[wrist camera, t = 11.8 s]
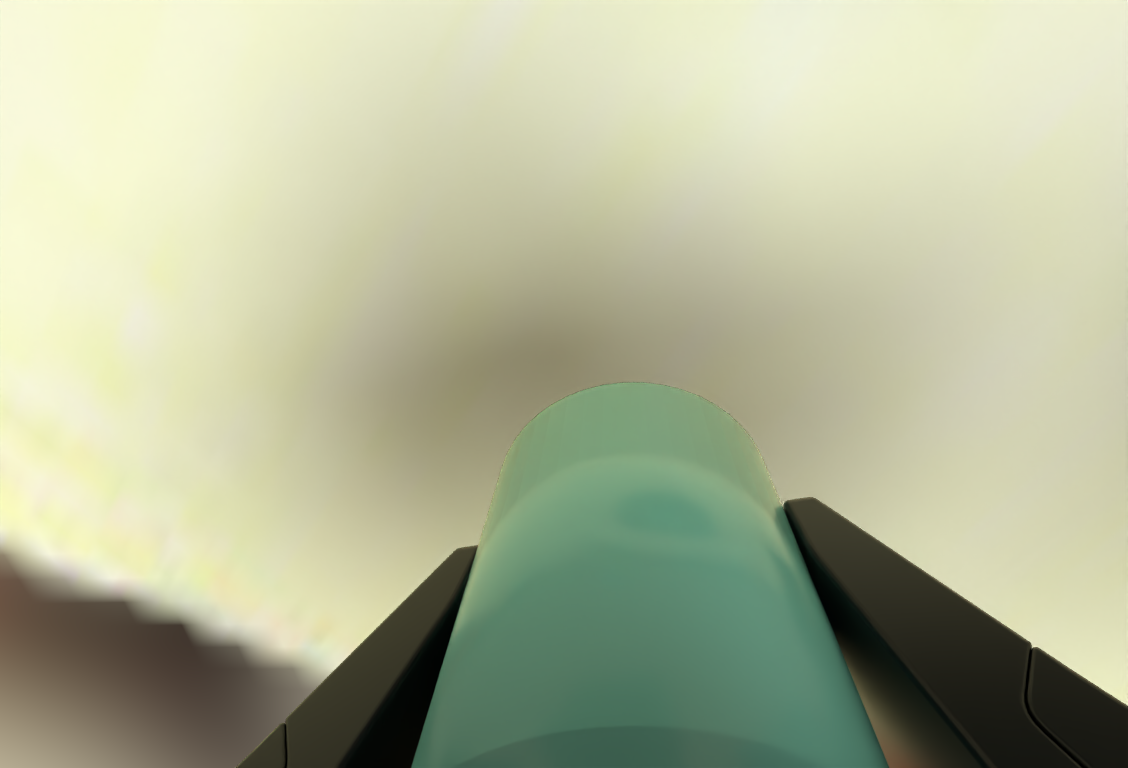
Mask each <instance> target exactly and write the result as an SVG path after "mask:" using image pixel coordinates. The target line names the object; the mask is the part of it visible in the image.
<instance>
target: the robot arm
mask: <svg viewBox="0 0 1128 768" xmlns="http://www.w3.org/2000/svg"><path fill="white" fill-rule="evenodd" d="M783 510H784V512H785V514H786V517H787V519H788V522H789V524H790V527H791V529H792V532H793V534H794V536H795V539H796V541H797V544H798V546H799V549H800V551H801V553H802V556H803V558H804V561H805V563H806V566H807V568H808V571H809V573H810V575H811V578H812V580H813V583H814V585H815V588H816V590H817V592H818V595H819V597H820V600H821V602H822V605H823V607H824V609H825V612H826V614H827V617H828V619H829V622H830V624H831V627H832V629H833V631H834V634H835V636H836V639H837V641H838V644H839V646H840V648H841V651H842V653H843V656H844V658H845V661H846V663H847V666H848V668H849V670H850V673H851V675H852V678H853V680H854V683H855V685H856V687H857V690H858V692H859V695H860V697H861V700H862V702H863V705H864V707H865V709H866V712H867V714H868V717H869V719H870V722H871V724H872V726H873V729H874V731H875V734H876V736H877V739H878V741H879V744H880V746H881V748H882V751H883V753H884V756H885V758H886V761H887V763H888V765H889V768H1128V706H1127V705H1126V704H1124V703H1123V702H1121V701H1119V700H1118V699H1116V698H1115V697H1113V696H1112V695H1110V694H1109V693H1107V692H1105V691H1104V690H1102V689H1101V688H1099V687H1098V686H1096V685H1095V684H1093V683H1091V682H1090V681H1088V680H1087V679H1085V678H1084V677H1082V676H1081V675H1079V674H1077V673H1076V672H1074V671H1073V670H1071V669H1070V668H1068V667H1067V666H1065V665H1064V664H1062V663H1061V662H1059V661H1058V660H1056V659H1055V658H1053V657H1052V656H1050V655H1049V654H1047V653H1046V652H1044V651H1043V650H1041V649H1040V648H1038V647H1034V648H1032V645H1031V643H1030V642H1029V641H1027V640H1026V639H1024V638H1023V637H1022V636H1020V635H1019V634H1017V633H1016V632H1014V631H1013V630H1011V629H1010V628H1008V627H1007V626H1005V625H1004V624H1002V623H1001V622H999V621H998V620H996V619H995V618H993V617H992V616H990V615H989V614H987V613H986V612H984V611H983V610H981V609H980V608H978V607H977V606H975V605H974V604H972V603H971V602H969V601H968V600H966V599H965V598H963V597H962V596H960V595H959V594H957V593H956V592H954V591H953V590H952V589H950V588H949V587H947V586H946V585H944V584H943V583H941V582H940V581H938V580H937V579H935V578H934V577H932V576H931V575H929V574H928V573H926V572H925V571H923V570H922V569H920V568H919V567H917V566H916V565H914V564H913V563H911V562H910V561H908V560H907V559H905V558H904V557H902V556H901V555H899V554H898V553H896V552H895V551H893V550H892V549H890V548H889V547H887V546H886V545H884V544H883V543H882V542H880V541H879V540H877V539H876V538H874V537H873V536H871V535H870V534H868V533H867V532H865V531H864V530H862V529H861V528H859V527H858V526H856V525H855V524H853V523H852V522H850V521H849V520H847V519H846V518H844V517H843V516H841V515H840V514H838V513H837V512H835V511H834V510H832V509H831V508H829V507H828V506H826V505H825V504H823V503H822V502H820V501H819V500H817V499H816V498H813V497H807V498H800V499H793V500H788V501H786V502H785V503H784V506H783ZM477 548H478V545H477V546H470V547H463V548H458V549H456V550H455V551H454V552H453V553H452V554H451V555H450V556H449V557H448V558H447V559H446V560H445V561H444V562H443V563H442V564H441V565H440V566H439V567H438V568H437V569H436V570H435V571H434V572H433V573H432V574H431V575H430V576H429V577H428V578H427V579H426V580H425V581H424V582H423V583H422V584H421V585H420V586H419V587H418V588H417V589H416V590H415V591H414V592H413V593H412V594H411V595H410V596H409V597H408V598H407V599H406V600H405V601H404V602H403V603H402V604H401V605H400V606H399V607H398V608H397V609H396V610H395V611H393V612H392V613H391V614H390V615H389V616H388V617H387V618H386V619H385V620H384V621H383V622H382V623H381V624H380V625H379V626H378V627H377V628H376V629H375V630H374V631H373V632H372V633H371V634H370V635H369V636H368V637H367V638H366V639H365V640H364V641H363V642H362V643H361V644H360V645H359V646H358V647H357V648H356V649H355V650H354V651H353V652H352V653H351V654H350V655H349V656H348V657H347V658H346V659H345V660H344V661H343V662H342V663H341V664H340V665H339V666H338V667H337V668H336V669H335V670H334V671H333V672H332V673H331V674H330V675H329V676H328V677H327V678H326V679H325V680H324V681H323V682H322V683H321V684H320V685H319V686H318V687H317V688H316V689H315V690H314V691H313V692H312V693H311V694H310V695H309V696H308V697H307V698H306V699H305V700H304V701H303V702H302V703H301V704H300V705H299V706H298V707H297V708H296V709H295V710H294V711H293V712H292V713H291V714H290V715H289V716H288V717H287V718H286V721H285V723H286V724H285V723H281V724H280V725H279V726H278V727H277V728H275V729H274V730H273V731H272V732H271V733H270V734H269V735H268V737H267V738H265V739H264V740H263V741H262V742H261V743H260V744H259V745H258V746H257V747H256V748H255V749H254V750H253V751H252V752H251V753H250V754H249V755H248V756H247V757H246V758H245V759H244V760H243V761H242V762H241V763H240V764H239V765H238V766H237V767H235V768H411V767H412V763H413V760H414V757H415V753H416V750H417V747H418V743H419V740H420V737H421V733H422V730H423V727H424V723H425V720H426V717H427V714H428V710H429V707H430V704H431V700H432V697H433V694H434V690H435V687H436V684H437V680H438V677H439V674H440V670H441V667H442V664H443V661H444V657H445V654H446V651H447V647H448V644H449V641H450V637H451V634H452V631H453V627H454V624H455V621H456V617H457V614H458V611H459V608H460V604H461V601H462V598H463V594H464V591H465V588H466V584H467V581H468V578H469V574H470V571H471V568H472V564H473V561H474V558H475V555H476V551H477ZM1031 649H1032V650H1031Z"/></svg>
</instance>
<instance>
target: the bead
mask: <svg viewBox="0 0 1128 768" xmlns="http://www.w3.org/2000/svg"><path fill="white" fill-rule="evenodd" d="M411 768H889V765H888V763H887V761H886V758H885V756H884V753H883V751H882V748H881V746H880V744H879V741H878V739H877V736H876V734H875V731H874V729H873V726H872V724H871V722H870V719H869V717H868V714H867V712H866V709H865V707H864V705H863V702H862V700H861V697H860V695H859V692H858V690H857V687H856V685H855V683H854V680H853V678H852V675H851V673H850V670H849V668H848V666H847V663H846V661H845V658H844V656H843V653H842V651H841V648H840V646H839V644H838V641H837V639H836V636H835V634H834V631H833V629H832V627H831V624H830V622H829V619H828V617H827V614H826V612H825V609H824V607H823V605H822V602H821V600H820V597H819V595H818V592H817V590H816V588H815V585H814V583H813V580H812V578H811V575H810V573H809V571H808V568H807V566H806V563H805V561H804V558H803V556H802V553H801V551H800V549H799V546H798V544H797V541H796V539H795V536H794V534H793V532H792V529H791V527H790V524H789V522H788V519H787V517H786V514H785V512H784V510H783V507H782V505H781V502H780V500H779V497H778V495H777V493H776V490H775V488H774V485H773V483H772V480H771V478H770V475H769V473H768V471H767V468H766V466H765V463H764V461H763V458H762V456H761V454H760V452H759V450H758V448H757V447H756V445H755V443H754V441H753V440H752V438H751V437H750V436H749V435H748V433H747V432H746V431H745V430H744V428H743V427H742V426H741V425H740V424H739V423H738V422H737V421H736V420H735V419H733V418H732V417H731V416H730V415H729V414H728V413H726V412H725V411H723V410H722V409H721V408H719V407H718V406H716V405H715V404H713V403H711V402H709V401H707V400H706V399H704V398H702V397H700V396H698V395H695V394H692V393H690V392H687V391H684V390H682V389H678V388H674V387H670V386H666V385H661V384H652V383H644V382H622V383H614V384H606V385H601V386H597V387H593V388H589V389H585V390H582V391H580V392H577V393H574V394H572V395H569V396H567V397H565V398H563V399H561V400H559V401H557V402H556V403H554V404H552V405H550V406H549V407H548V408H546V409H545V410H543V411H542V412H541V413H539V414H538V415H537V416H536V417H535V418H534V419H532V420H531V421H530V422H529V423H528V424H527V425H526V426H525V427H524V429H523V430H522V431H521V432H520V434H519V435H518V436H517V437H516V439H515V440H514V442H513V444H512V446H511V447H510V449H509V451H508V453H507V455H506V458H505V460H504V463H503V465H502V468H501V472H500V475H499V478H498V482H497V485H496V488H495V492H494V495H493V498H492V502H491V505H490V508H489V511H488V515H487V518H486V521H485V525H484V528H483V531H482V535H481V538H480V541H479V545H478V548H477V551H476V555H475V558H474V561H473V564H472V568H471V571H470V574H469V578H468V581H467V584H466V588H465V591H464V594H463V598H462V601H461V604H460V608H459V611H458V614H457V617H456V621H455V624H454V627H453V631H452V634H451V637H450V641H449V644H448V647H447V651H446V654H445V657H444V661H443V664H442V667H441V670H440V674H439V677H438V680H437V684H436V687H435V690H434V694H433V697H432V700H431V704H430V707H429V710H428V714H427V717H426V720H425V723H424V727H423V730H422V733H421V737H420V740H419V743H418V747H417V750H416V753H415V757H414V760H413V763H412V767H411Z"/></svg>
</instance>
